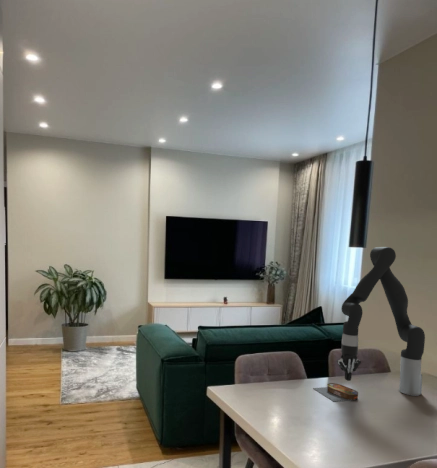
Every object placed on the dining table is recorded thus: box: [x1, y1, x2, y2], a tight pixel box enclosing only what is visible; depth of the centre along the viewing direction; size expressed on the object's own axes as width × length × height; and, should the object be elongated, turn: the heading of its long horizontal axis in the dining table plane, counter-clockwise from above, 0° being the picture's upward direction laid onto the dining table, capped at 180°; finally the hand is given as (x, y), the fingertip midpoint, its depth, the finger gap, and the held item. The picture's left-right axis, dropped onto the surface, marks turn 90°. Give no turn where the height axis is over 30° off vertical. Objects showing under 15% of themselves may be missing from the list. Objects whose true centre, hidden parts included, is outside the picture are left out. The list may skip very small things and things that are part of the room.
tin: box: [326, 382, 359, 401], centre depth 177 cm, size 15×3×8 cm
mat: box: [312, 386, 357, 403], centre depth 177 cm, size 12×16×1 cm
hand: (347, 380), depth 180 cm, fingers closed
